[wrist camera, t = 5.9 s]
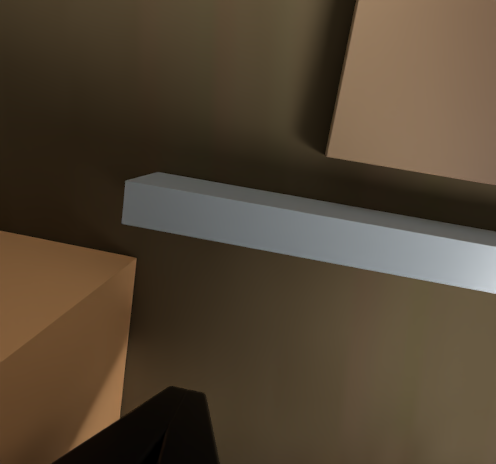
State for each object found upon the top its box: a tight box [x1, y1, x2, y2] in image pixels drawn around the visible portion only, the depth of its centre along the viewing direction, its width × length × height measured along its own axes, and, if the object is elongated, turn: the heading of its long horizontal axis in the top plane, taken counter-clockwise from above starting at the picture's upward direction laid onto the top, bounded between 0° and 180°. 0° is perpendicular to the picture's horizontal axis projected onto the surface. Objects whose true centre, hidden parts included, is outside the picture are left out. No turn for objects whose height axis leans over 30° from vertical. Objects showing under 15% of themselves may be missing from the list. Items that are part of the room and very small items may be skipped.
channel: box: [122, 172, 496, 294], centre depth 9 cm, size 14×9×2 cm, turn 81°
